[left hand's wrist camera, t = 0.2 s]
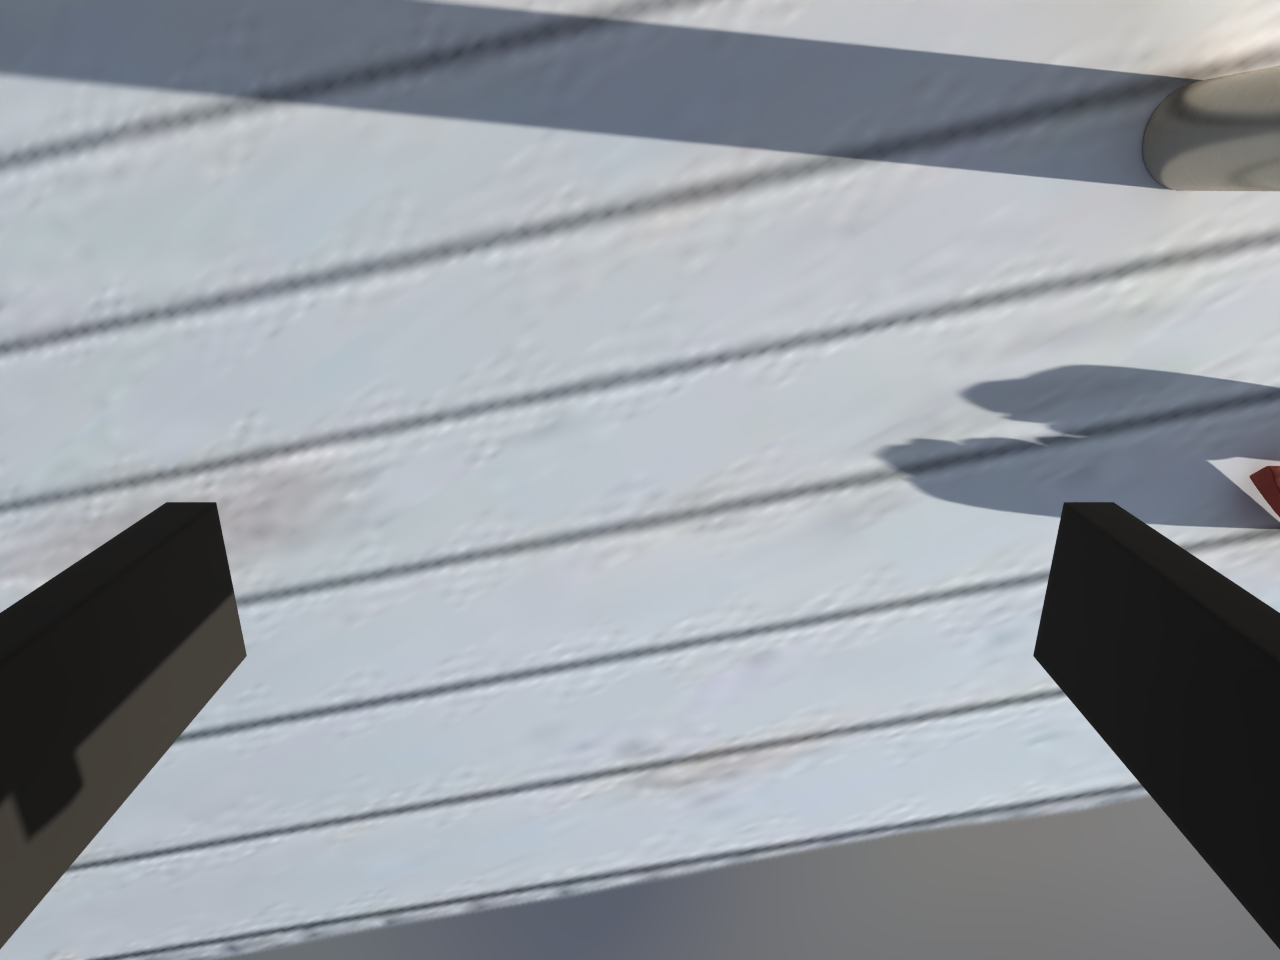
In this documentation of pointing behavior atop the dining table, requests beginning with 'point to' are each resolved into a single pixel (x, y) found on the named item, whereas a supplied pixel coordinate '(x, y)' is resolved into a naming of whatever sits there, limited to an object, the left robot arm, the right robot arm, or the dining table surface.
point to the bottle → (1218, 134)
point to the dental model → (1269, 485)
